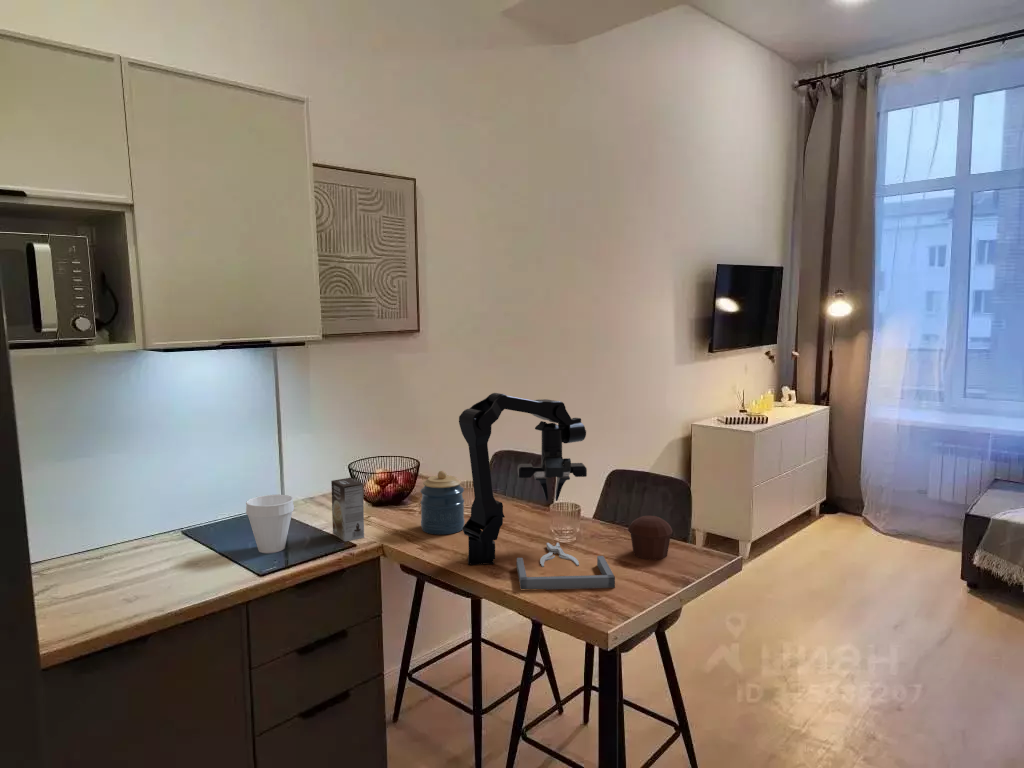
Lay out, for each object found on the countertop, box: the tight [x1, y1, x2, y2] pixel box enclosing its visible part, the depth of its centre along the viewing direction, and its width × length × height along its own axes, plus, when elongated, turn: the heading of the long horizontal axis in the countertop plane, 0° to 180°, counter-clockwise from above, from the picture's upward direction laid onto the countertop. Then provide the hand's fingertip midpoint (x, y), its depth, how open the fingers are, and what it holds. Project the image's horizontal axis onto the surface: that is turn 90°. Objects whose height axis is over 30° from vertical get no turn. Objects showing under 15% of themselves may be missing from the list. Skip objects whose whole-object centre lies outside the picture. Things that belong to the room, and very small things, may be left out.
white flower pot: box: [245, 494, 295, 554], centre depth 187 cm, size 12×12×14 cm
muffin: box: [627, 515, 673, 561], centre depth 182 cm, size 12×11×10 cm
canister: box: [419, 470, 465, 536], centre depth 204 cm, size 13×13×18 cm
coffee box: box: [331, 477, 365, 543], centre depth 198 cm, size 9×6×16 cm
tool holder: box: [516, 555, 616, 590], centre depth 166 cm, size 22×14×2 cm, turn 93°
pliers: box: [539, 542, 580, 568], centre depth 181 cm, size 10×2×15 cm
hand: (551, 500), depth 191 cm, fingers open, 2 cm apart
